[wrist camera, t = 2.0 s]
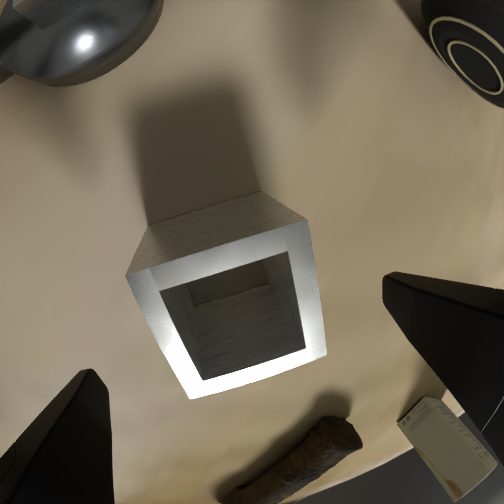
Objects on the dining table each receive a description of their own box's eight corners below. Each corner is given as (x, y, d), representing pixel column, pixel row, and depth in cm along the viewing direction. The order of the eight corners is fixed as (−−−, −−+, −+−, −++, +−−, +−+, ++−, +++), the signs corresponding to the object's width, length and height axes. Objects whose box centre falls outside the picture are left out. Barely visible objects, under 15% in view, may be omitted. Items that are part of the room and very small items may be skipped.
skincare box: (394, 423, 23) (452, 505, 12) (423, 394, 22) (490, 473, 11) (417, 425, 25) (468, 492, 14) (443, 399, 25) (499, 464, 13)
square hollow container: (185, 321, 14) (190, 398, 9) (147, 225, 12) (125, 275, 7) (284, 291, 14) (327, 355, 9) (261, 191, 12) (307, 219, 8)
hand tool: (319, 408, 19) (343, 455, 15) (350, 415, 20) (374, 455, 16) (199, 499, 22) (204, 532, 18) (229, 502, 23) (237, 533, 19)
